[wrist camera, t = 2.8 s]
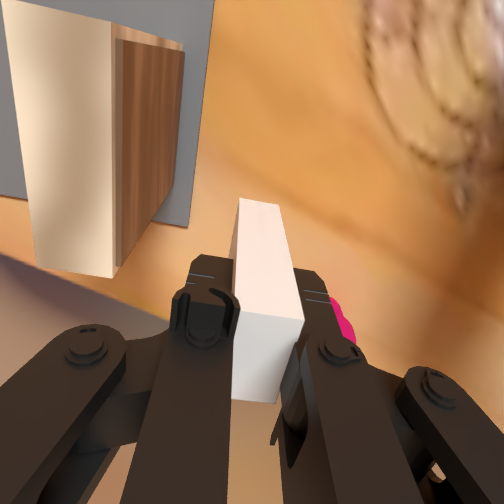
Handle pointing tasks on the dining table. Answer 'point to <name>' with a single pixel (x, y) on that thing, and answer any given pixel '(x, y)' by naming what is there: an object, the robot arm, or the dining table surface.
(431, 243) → the dining table surface
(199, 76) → the mat
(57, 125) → the brown wooden block
